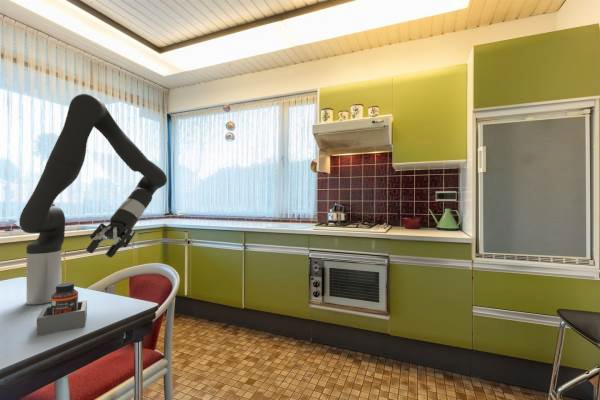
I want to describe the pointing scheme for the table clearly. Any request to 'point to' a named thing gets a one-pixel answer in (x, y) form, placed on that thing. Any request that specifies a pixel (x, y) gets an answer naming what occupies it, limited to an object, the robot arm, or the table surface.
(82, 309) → the open box
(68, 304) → the supplement bottle
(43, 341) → the table surface
